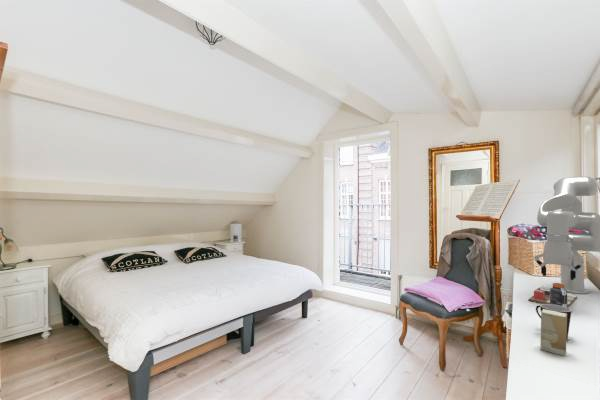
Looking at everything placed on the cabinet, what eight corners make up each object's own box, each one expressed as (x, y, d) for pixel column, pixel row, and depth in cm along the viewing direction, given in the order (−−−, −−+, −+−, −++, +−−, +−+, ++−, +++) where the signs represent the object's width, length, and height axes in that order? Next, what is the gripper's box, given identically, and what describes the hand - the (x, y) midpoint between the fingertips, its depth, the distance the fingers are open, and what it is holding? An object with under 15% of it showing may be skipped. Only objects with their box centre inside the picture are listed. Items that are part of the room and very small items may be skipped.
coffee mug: (576, 343, 105) (576, 313, 105) (545, 339, 107) (545, 310, 108) (561, 330, 115) (561, 303, 116) (533, 326, 118) (533, 300, 119)
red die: (535, 297, 154) (535, 288, 154) (545, 298, 151) (544, 290, 151) (533, 298, 151) (533, 290, 151) (543, 300, 148) (543, 291, 149)
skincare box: (540, 349, 100) (539, 311, 100) (542, 345, 103) (541, 308, 103) (566, 356, 95) (566, 316, 95) (567, 352, 98) (567, 313, 98)
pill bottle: (570, 312, 135) (570, 285, 135) (555, 311, 136) (554, 285, 136) (562, 307, 141) (561, 282, 141) (547, 306, 142) (546, 281, 142)
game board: (541, 292, 166) (540, 286, 166) (577, 298, 155) (577, 292, 155) (528, 301, 150) (528, 294, 150) (567, 308, 139) (567, 302, 139)
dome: (541, 291, 163) (541, 283, 163) (552, 293, 159) (552, 285, 159) (538, 293, 160) (538, 284, 160) (550, 295, 156) (550, 286, 156)
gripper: (585, 240, 135) (585, 280, 134) (536, 237, 148) (536, 273, 147) (582, 241, 130) (582, 282, 129) (531, 237, 143) (532, 275, 142)
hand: (558, 277), depth 138 cm, fingers open, 9 cm apart
